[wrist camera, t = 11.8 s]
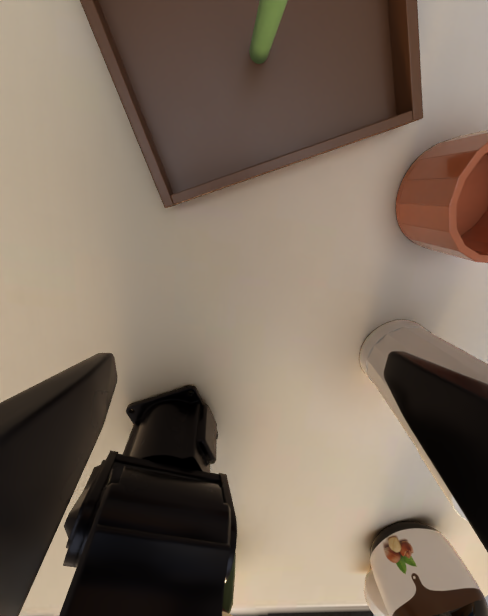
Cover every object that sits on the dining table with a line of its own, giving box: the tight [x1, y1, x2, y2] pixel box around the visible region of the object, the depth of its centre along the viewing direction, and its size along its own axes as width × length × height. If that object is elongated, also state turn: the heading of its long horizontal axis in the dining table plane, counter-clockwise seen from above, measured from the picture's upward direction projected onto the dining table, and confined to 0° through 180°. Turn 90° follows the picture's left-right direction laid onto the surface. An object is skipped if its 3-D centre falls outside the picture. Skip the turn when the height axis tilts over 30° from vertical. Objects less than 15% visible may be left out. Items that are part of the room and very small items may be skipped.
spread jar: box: [364, 521, 488, 616], centre depth 32 cm, size 12×11×12 cm
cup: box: [359, 320, 488, 521], centre depth 20 cm, size 8×8×12 cm
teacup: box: [396, 130, 488, 263], centre depth 18 cm, size 7×7×5 cm
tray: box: [80, 0, 423, 208], centre depth 15 cm, size 16×12×2 cm
